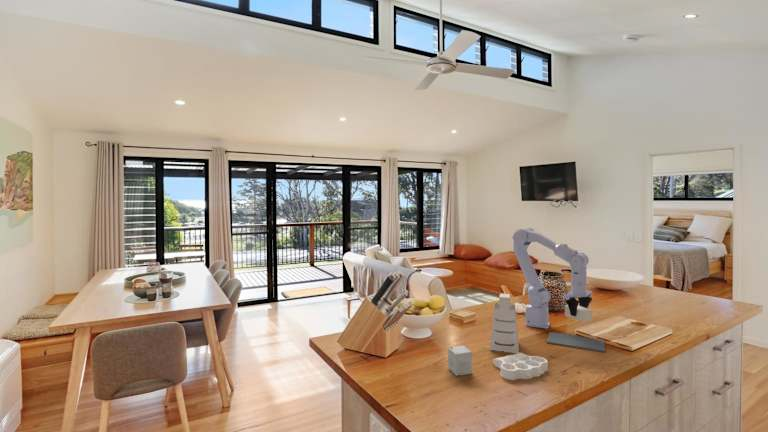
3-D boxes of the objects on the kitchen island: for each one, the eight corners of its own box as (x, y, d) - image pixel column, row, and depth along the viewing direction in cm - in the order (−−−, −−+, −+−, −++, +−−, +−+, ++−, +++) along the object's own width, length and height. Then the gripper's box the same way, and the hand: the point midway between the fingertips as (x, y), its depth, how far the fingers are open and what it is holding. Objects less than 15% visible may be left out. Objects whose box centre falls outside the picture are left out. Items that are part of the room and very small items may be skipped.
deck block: (564, 315, 163) (564, 305, 163) (573, 314, 165) (573, 303, 165) (583, 322, 155) (583, 311, 154) (591, 320, 157) (592, 309, 156)
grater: (518, 343, 152) (519, 293, 151) (518, 353, 142) (519, 300, 141) (491, 340, 155) (491, 291, 154) (489, 350, 145) (489, 298, 144)
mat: (546, 343, 151) (546, 341, 151) (549, 333, 162) (549, 331, 162) (604, 352, 142) (604, 350, 142) (604, 341, 152) (604, 339, 152)
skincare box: (472, 373, 126) (472, 351, 126) (455, 376, 124) (455, 354, 124) (463, 366, 132) (463, 345, 132) (447, 368, 130) (447, 347, 130)
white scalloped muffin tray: (524, 357, 139) (558, 374, 125) (485, 367, 131) (516, 386, 118) (524, 348, 139) (558, 364, 125) (485, 357, 131) (516, 375, 118)
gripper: (574, 286, 153) (573, 319, 153) (599, 282, 158) (599, 315, 159) (559, 282, 159) (559, 314, 160) (584, 279, 165) (584, 310, 165)
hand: (578, 314), depth 160 cm, fingers closed on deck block, 5 cm apart
